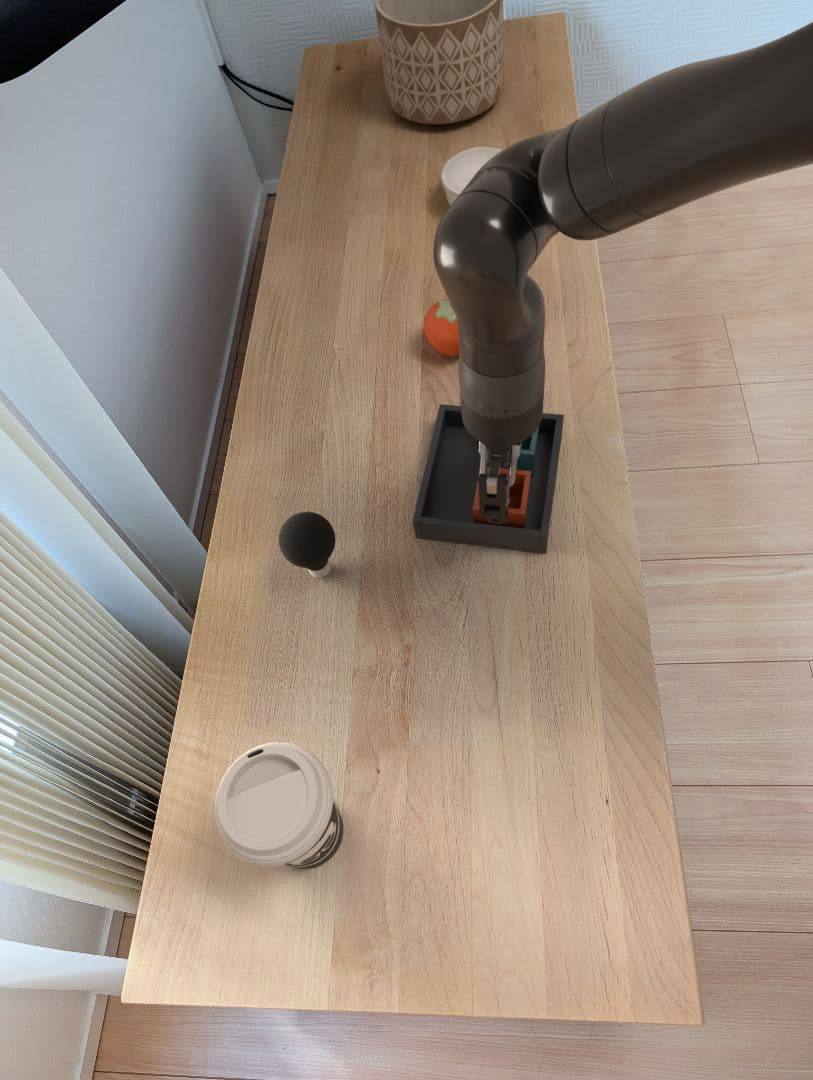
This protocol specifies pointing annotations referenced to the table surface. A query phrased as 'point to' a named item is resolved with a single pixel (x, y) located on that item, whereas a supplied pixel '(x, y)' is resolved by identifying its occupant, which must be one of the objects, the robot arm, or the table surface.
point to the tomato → (442, 329)
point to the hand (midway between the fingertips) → (502, 485)
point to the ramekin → (464, 169)
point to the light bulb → (308, 542)
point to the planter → (441, 57)
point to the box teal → (528, 453)
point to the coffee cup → (279, 808)
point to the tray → (455, 482)
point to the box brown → (518, 501)
